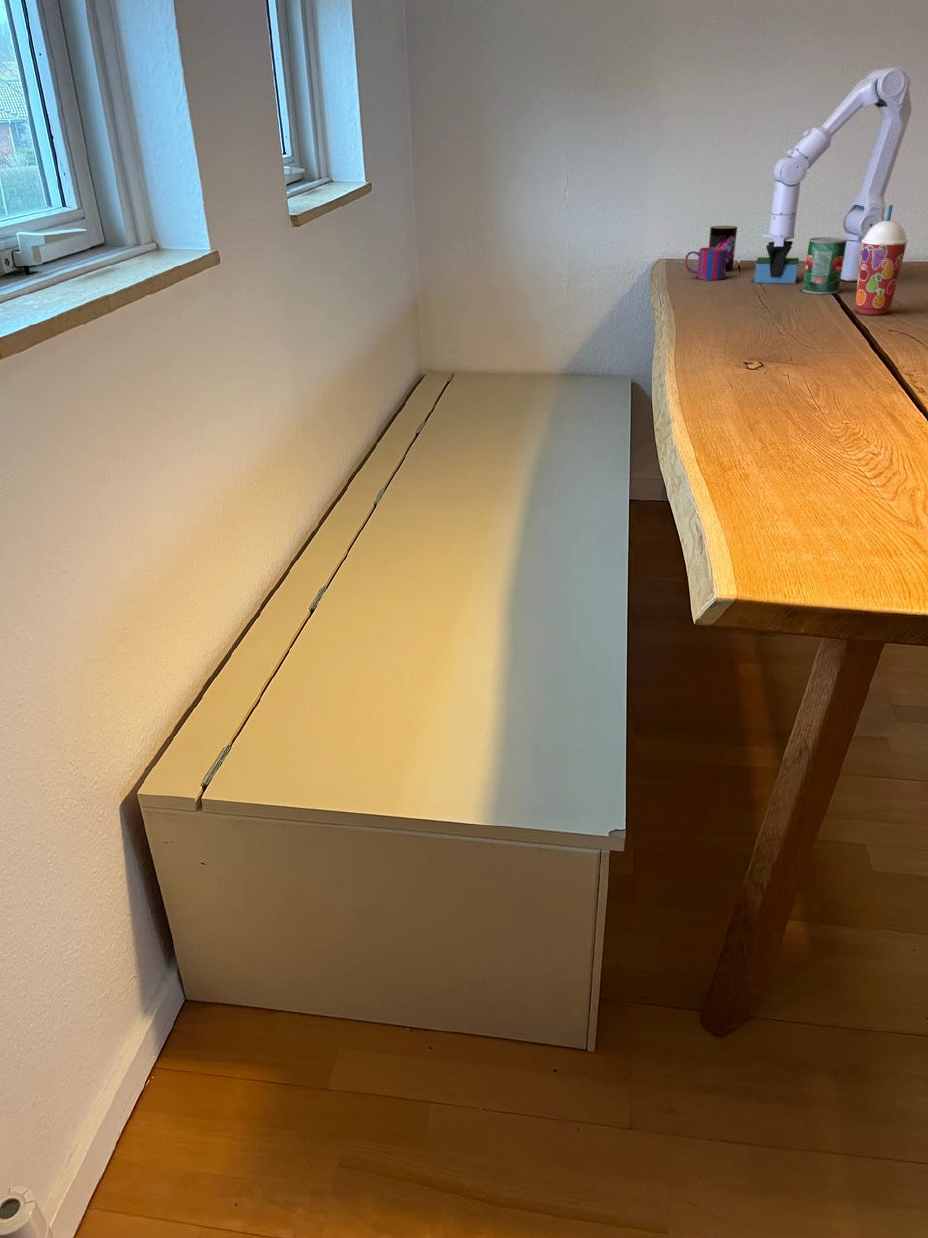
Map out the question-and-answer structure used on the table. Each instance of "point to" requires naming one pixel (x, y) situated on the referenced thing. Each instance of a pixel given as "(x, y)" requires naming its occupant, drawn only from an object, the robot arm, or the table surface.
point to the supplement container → (724, 241)
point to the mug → (710, 263)
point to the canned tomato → (824, 265)
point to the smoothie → (880, 266)
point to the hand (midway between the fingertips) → (775, 274)
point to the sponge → (786, 275)
